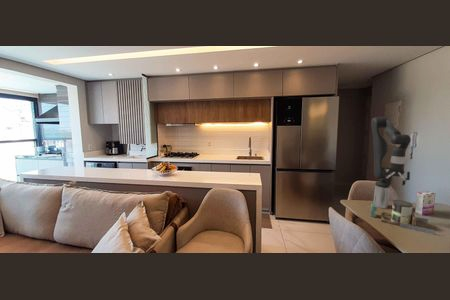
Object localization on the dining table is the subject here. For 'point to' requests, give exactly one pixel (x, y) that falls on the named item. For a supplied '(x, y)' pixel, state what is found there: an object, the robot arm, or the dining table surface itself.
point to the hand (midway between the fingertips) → (394, 184)
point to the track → (418, 227)
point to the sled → (373, 214)
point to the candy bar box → (425, 202)
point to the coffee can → (401, 211)
